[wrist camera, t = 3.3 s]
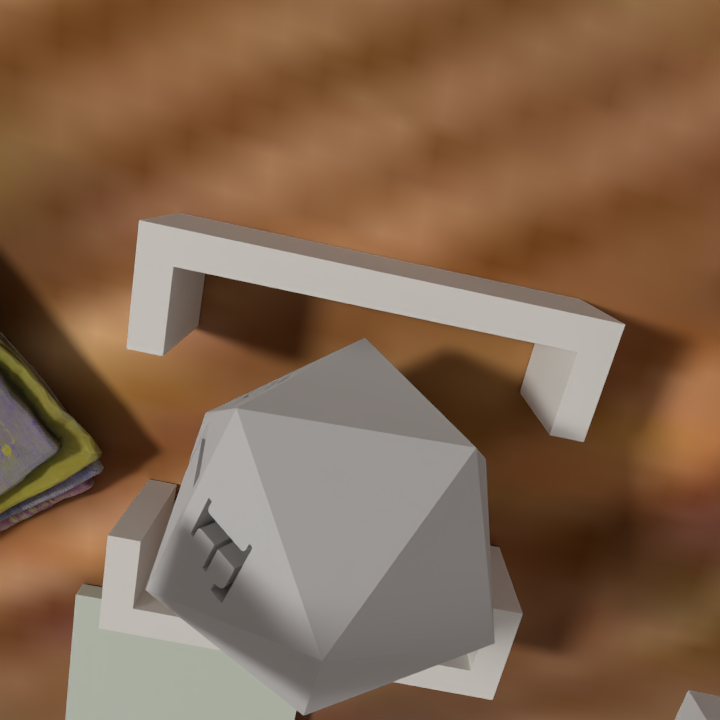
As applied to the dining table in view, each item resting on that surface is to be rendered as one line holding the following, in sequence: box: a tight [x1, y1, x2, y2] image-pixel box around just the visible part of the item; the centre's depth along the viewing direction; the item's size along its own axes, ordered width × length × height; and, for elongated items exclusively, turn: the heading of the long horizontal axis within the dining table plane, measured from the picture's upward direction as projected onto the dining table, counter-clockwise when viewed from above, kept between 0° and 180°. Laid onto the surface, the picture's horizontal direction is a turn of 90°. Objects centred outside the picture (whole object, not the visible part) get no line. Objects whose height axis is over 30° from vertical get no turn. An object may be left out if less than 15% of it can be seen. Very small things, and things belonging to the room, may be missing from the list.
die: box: [146, 338, 495, 716], centre depth 16 cm, size 8×9×10 cm
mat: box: [65, 584, 297, 720], centre depth 24 cm, size 9×9×1 cm
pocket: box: [99, 213, 625, 700], centre depth 19 cm, size 13×13×4 cm
